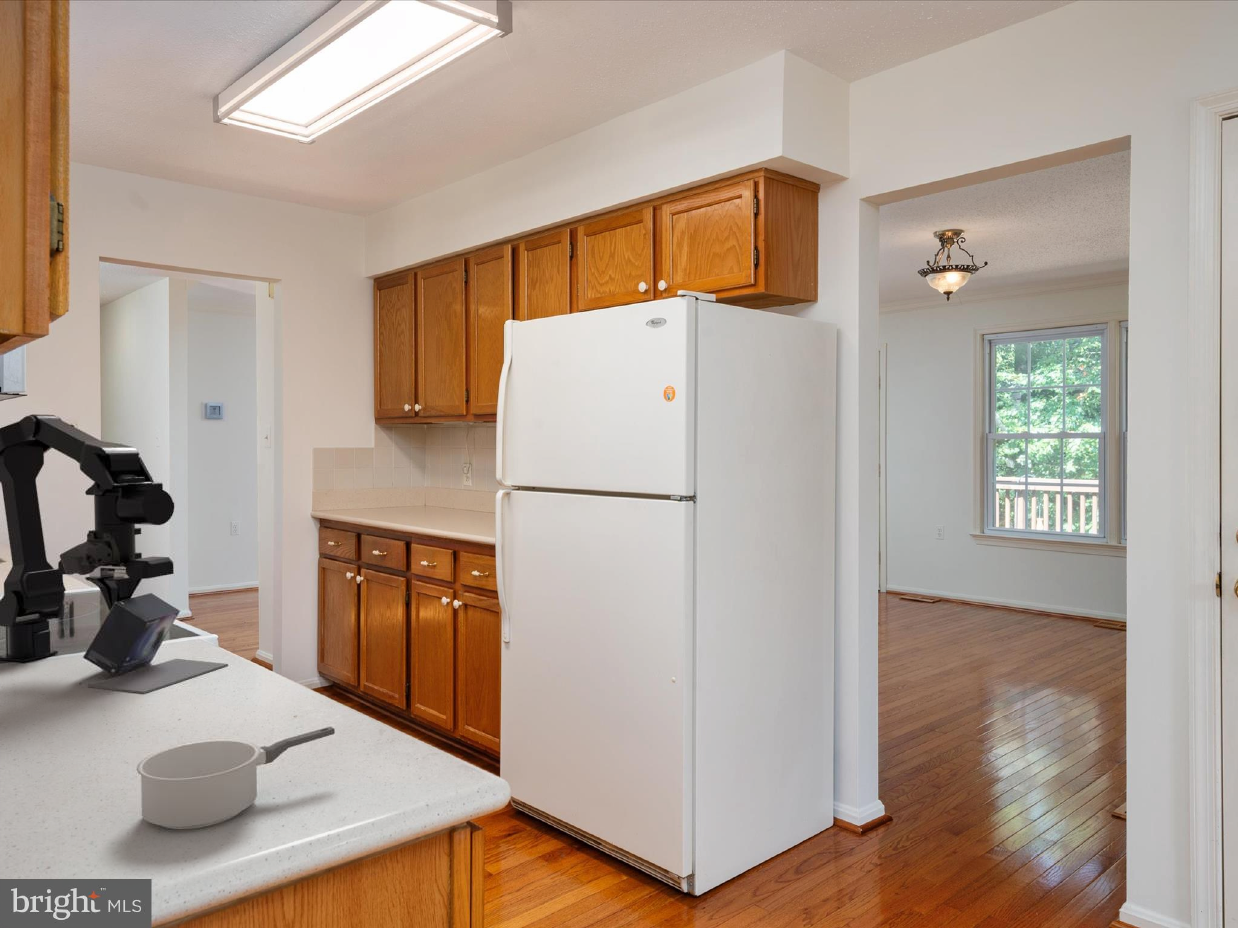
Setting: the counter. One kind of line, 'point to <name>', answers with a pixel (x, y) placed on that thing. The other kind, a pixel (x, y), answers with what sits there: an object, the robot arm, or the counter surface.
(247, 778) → the saucepan
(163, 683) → the mat
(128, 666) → the small box
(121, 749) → the counter surface
